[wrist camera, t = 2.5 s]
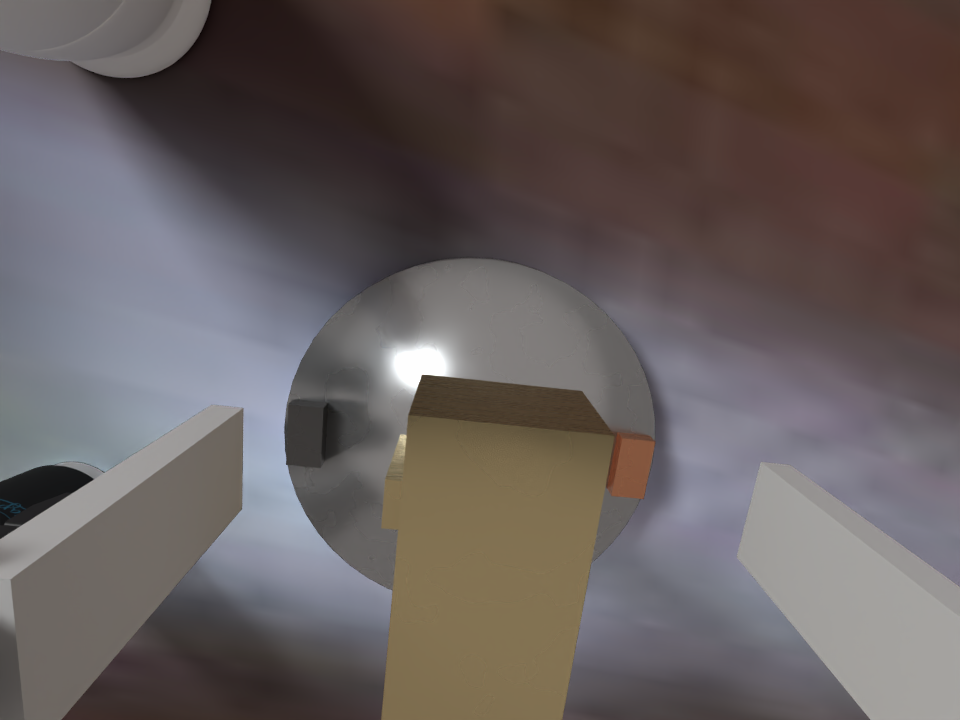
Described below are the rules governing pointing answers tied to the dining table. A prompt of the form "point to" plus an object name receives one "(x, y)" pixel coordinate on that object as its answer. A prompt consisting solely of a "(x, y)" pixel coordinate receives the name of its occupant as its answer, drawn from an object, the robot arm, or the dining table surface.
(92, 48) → the jar
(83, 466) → the dixie cup
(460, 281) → the post base
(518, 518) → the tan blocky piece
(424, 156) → the dining table surface
